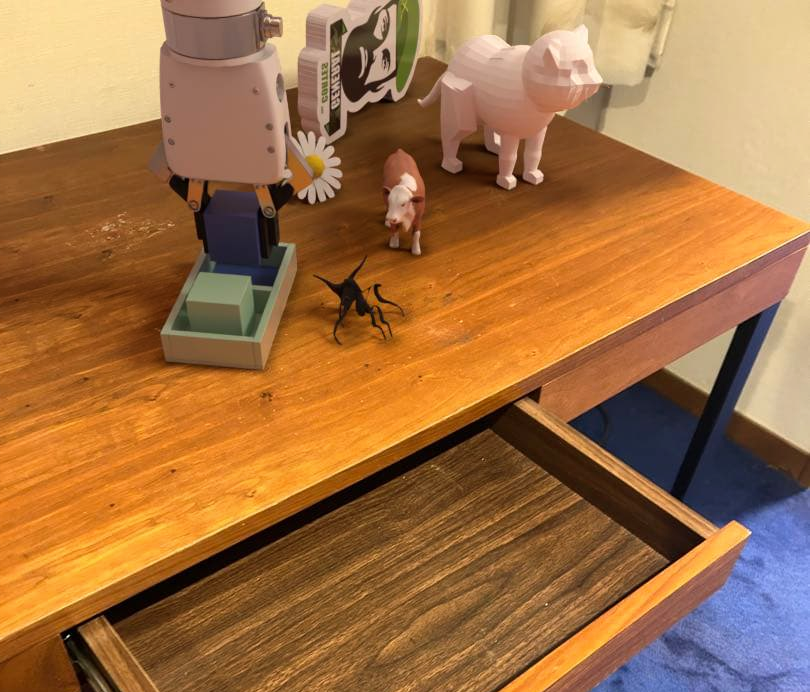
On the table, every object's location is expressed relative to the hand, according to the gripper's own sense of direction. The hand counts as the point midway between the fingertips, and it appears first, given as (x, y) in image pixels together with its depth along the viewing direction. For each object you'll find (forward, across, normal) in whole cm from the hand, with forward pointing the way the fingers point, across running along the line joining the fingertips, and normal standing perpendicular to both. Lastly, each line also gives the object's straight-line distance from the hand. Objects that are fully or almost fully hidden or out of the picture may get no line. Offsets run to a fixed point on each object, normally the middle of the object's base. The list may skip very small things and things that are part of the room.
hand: (240, 247), depth 79 cm
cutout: (+5, -6, -43) cm, 44 cm away
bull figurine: (+5, -14, -12) cm, 19 cm away
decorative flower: (+5, +1, -20) cm, 21 cm away
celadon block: (+4, 0, +8) cm, 9 cm away
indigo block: (0, 0, 0) cm, 0 cm away
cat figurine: (+5, -23, -30) cm, 38 cm away
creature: (+5, -12, +4) cm, 14 cm away
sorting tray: (+5, 0, +4) cm, 6 cm away
